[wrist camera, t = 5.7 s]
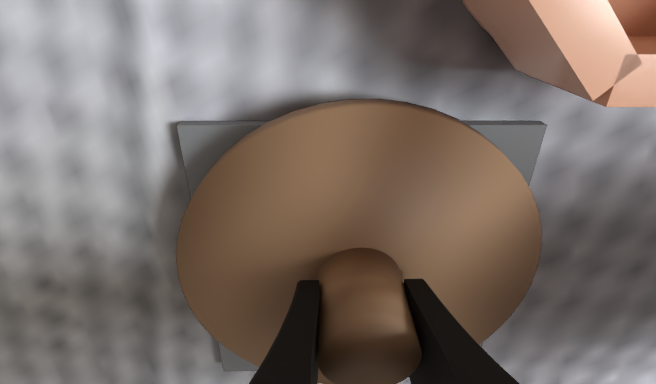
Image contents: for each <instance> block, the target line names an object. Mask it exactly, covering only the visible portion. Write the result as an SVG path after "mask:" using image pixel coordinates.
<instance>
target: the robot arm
mask: <svg viewBox="0 0 656 384" xmlns="http://www.w3.org/2000/svg"><path fill="white" fill-rule="evenodd" d="M403 285H404V288H405V292H406V296H407V299H408V303H409V307H410V310H411V314H412V318H413V321H414V325H415V329H416V332H417V336H418V340H419V343H420V347H421V351H422V357H421V361H420V364H419V366H418V367H417V369H416V370H415V371H414V372H413V373H412V374H411V375H410V376H409V377H410V381H411V384H519V383H518V382H517V381H516V380H515V379H514V378H513V377H512V376H510V375H509V374H508V373H507V372H506V371H505V370H504V369H503V368H502V367H501V366H500V365H499V364H498V363H496V362H495V361H494V360H493V359H492V358H491V357H490V356H489V355H488V354H487V353H486V352H485V351H484V349H483V348H482V347H481V346H480V345H479V344H478V343H477V342H476V341H475V340H474V339H473V338H472V337H471V336H470V335H469V334H468V332H467V331H466V330H465V329H464V328H463V327H462V326H461V324H460V323H459V322H458V321H457V320H456V319H455V318H454V316H453V315H452V314H451V313H450V312H449V310H448V309H447V308H446V307H445V306H444V304H443V303H442V302H441V301H440V299H439V298H438V297H437V296H436V294H435V293H434V292H433V290H432V289H431V288H430V287H429V285H428V284H427V283H426V281H425V280H424V279H404V283H403ZM319 311H320V296H319V280H300V281H299V282H298V283H297V286H296V290H295V294H294V297H293V300H292V303H291V305H290V308H289V310H288V313H287V315H286V317H285V319H284V322H283V324H282V326H281V328H280V331H279V333H278V335H277V337H276V338H275V340H274V342H273V344H272V346H271V348H270V350H269V352H268V353H267V355H266V357H265V359H264V360H263V362H262V364H261V366H260V367H259V369H258V370H257V372H256V374H255V375H254V377H253V378H252V380H251V381H250V383H249V384H317V383H318V371H319V366H318V324H319Z"/></svg>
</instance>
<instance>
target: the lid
mask: <svg viewBox="0 0 656 384" xmlns="http://www.w3.org/2000/svg"><path fill="white" fill-rule="evenodd" d="M541 234H542V229H541V223H540V217H539V211H538V208H537V205H536V202H535V200H534V197H533V194H532V192H531V190H530V188H529V186H528V185H527V183H526V181H525V179H524V178H523V176H522V174H521V173H520V172H519V171H518V170H517V168H516V167H515V166H514V165H513V164H512V162H511V161H510V160H509V159H508V158H507V157H506V156H505V155H504V154H503V153H502V152H501V151H500V150H499V149H498V148H497V147H496V146H495V145H494V144H493V143H492V142H490V141H489V140H488V139H487V138H486V137H484V136H483V135H482V134H481V133H480V132H479V131H477V130H475V129H474V128H472V127H470V126H468V125H467V124H465V123H463V122H462V121H460V120H458V119H457V118H454V117H452V116H449V115H447V114H444V113H442V112H440V111H437V110H435V109H432V108H428V107H424V106H420V105H416V104H412V103H408V102H401V101H393V100H384V99H348V100H341V101H335V102H328V103H321V104H317V105H314V106H310V107H307V108H303V109H299V110H296V111H293V112H290V113H288V114H286V115H283V116H281V117H279V118H276V119H274V120H272V121H269V122H267V123H266V124H264V125H262V126H261V127H259V128H257V129H255V130H254V131H252V132H250V133H249V134H247V135H245V136H244V137H243V138H242V139H240V140H239V141H238V142H237V143H235V144H234V145H233V146H232V147H231V148H229V149H228V150H227V151H226V152H225V153H224V154H223V155H222V156H221V157H220V158H219V159H218V160H217V161H216V162H215V164H214V165H213V166H212V167H211V168H210V169H209V171H208V172H207V174H206V175H205V177H204V178H203V180H202V181H201V183H200V184H199V186H198V187H197V189H196V191H195V193H194V195H193V196H192V198H191V200H190V202H189V205H188V207H187V209H186V211H185V214H184V216H183V218H182V222H181V226H180V230H179V234H178V238H177V250H176V262H177V271H178V277H179V281H180V284H181V288H182V291H183V294H184V296H185V298H186V300H187V302H188V304H189V306H190V308H191V310H192V311H193V313H194V314H195V316H196V317H197V319H198V320H199V322H200V323H201V324H202V325H203V326H204V328H205V329H206V330H207V331H208V332H209V333H210V334H211V335H212V336H213V337H214V338H215V339H216V340H217V341H219V342H220V343H221V344H222V345H223V346H224V347H226V348H227V349H229V350H230V351H232V352H233V353H235V354H236V355H237V356H239V357H241V358H242V359H244V360H246V361H248V362H250V363H252V364H254V365H256V366H258V367H260V366H261V364H262V362H263V360H264V359H265V357H266V355H267V353H268V352H269V350H270V348H271V346H272V344H273V342H274V340H275V338H276V337H277V335H278V333H279V331H280V328H281V326H282V324H283V322H284V319H285V317H286V315H287V313H288V310H289V308H290V305H291V303H292V300H293V297H294V294H295V290H296V286H297V283H298V282H299V281H300V280H319V296H320V311H319V324H318V366H319V371H318V383H323V384H397V383H399V382H401V381H403V380H404V379H406V378H407V377H409V376H410V375H411V374H412V373H413V372H414V371H415V370H416V369H417V367H418V366H419V364H420V361H421V357H422V351H421V347H420V343H419V340H418V336H417V332H416V329H415V325H414V321H413V318H412V314H411V310H410V307H409V303H408V299H407V296H406V292H405V288H404V285H403V283H404V279H424V280H425V281H426V283H427V284H428V285H429V287H430V288H431V289H432V290H433V292H434V293H435V294H436V296H437V297H438V298H439V299H440V301H441V302H442V303H443V304H444V306H445V307H446V308H447V309H448V310H449V312H450V313H451V314H452V315H453V316H454V318H455V319H456V320H457V321H458V322H459V323H460V324H461V326H462V327H463V328H464V329H465V330H466V331H467V332H468V334H469V335H470V336H471V337H472V338H473V339H474V340H475V341H476V342H477V343H478V344H480V343H482V342H483V341H484V340H486V339H487V338H488V337H489V336H490V335H491V334H493V333H494V332H495V331H496V330H497V329H498V328H500V326H501V325H502V324H503V323H504V322H505V321H506V320H507V319H508V318H509V317H510V316H511V315H512V313H513V312H514V311H515V309H516V308H517V307H518V305H519V304H520V303H521V301H522V300H523V298H524V296H525V294H526V292H527V291H528V289H529V287H530V285H531V283H532V280H533V278H534V275H535V272H536V270H537V267H538V262H539V257H540V252H541Z"/></svg>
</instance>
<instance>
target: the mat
mask: <svg viewBox="0 0 656 384" xmlns="http://www.w3.org/2000/svg"><path fill="white" fill-rule="evenodd" d="M267 122H269V121H181V122H180V123H179V124H178V125H177V130H178V135H179V140H180V146H181V151H182V156H183V161H184V167H185V172H186V177H187V182H188V187H189V193H190V198H192V196H193V195H194V193H195V191H196V189H197V187H198V186H199V184H200V183H201V181H202V180H203V178H204V177H205V175H206V174H207V172H208V171H209V169H210V168H211V167H212V166H213V165H214V164H215V162H216V161H217V160H218V159H219V158H220V157H221V156H222V155H223V154H224V153H225V152H226V151H227V150H228V149H229V148H231V147H232V146H233V145H234V144H235V143H237V142H238V141H239V140H240V139H242V138H243V137H244V136H245V135H247V134H249V133H250V132H252V131H254V130H255V129H257V128H259V127H261V126H262V125H264V124H266V123H267ZM462 122H463V123H465V124H467V125H468V126H470V127H472V128H474V129H475V130H477V131H479V132H480V133H481V134H482V135H483V136H484V137H486V138H487V139H488V140H489V141H490V142H492V143H493V144H494V145H495V146H496V147H497V148H498V149H499V150H500V151H501V152H502V153H503V154H504V155H505V156H506V157H507V158H508V159H509V160H510V161H511V162H512V164H513V165H514V166H515V167H516V168H517V170H518V171H519V172H520V173H521V174H522V176H523V178H524V179H525V181H526V183H527V185H528V186H529V184H530V181H531V178H532V174H533V171H534V167H535V164H536V161H537V157H538V154H539V150H540V147H541V144H542V140H543V137H544V134H545V130H546V127H547V125H546V124H544V123H543V122H541V121H462ZM482 343H483V342H482ZM482 343H480V344H479V345H480V346H482ZM218 344H219V350H220V355H221V360H222V365H223V371H257V370H258V369H259V367H258V366H256V365H254V364H252V363H250V362H248V361H246V360H244V359H242V358H241V357H239V356H237V355H236V354H235V353H233V352H232V351H230V350H229V349H227V348H226V347H224V346H223V345H222V344H221V343H220V342H219V341H218Z"/></svg>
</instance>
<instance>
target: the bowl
mask: <svg viewBox="0 0 656 384" xmlns="http://www.w3.org/2000/svg"><path fill="white" fill-rule="evenodd" d="M461 1H462V3H463V4H464V6H465V8H466V9H467V10H468V11H469V13H470V14H471V15H472V16H473V17H474V19H475V20H476V21H477V22H478V23H479V24H480V26H481V27H482V28H483V29H484V30H485V31H487V32H488V33H489V34H490V35H491V36H492V37H493V39H494V40H495V42H496V43H497V44H498V46H499V47H500V49H501V50H502V51H503V53H504V54H505V56H506V57H507V58H508V60H509V61H510V63H511V64H512V65H513V67H514V68H515V70H518V71H520V72H523V73H525V74H526V75H529V76H531V77H533V78H536V79H538V80H541V81H543V82H546V83H548V84H551V85H553V86H556V87H558V88H561V89H563V90H566V91H568V92H571V93H573V94H575V95H578V96H580V97H583V98H585V99H588V100H590V101H593V102H595V103H598V104H600V105H603V106H605V107H656V0H461Z"/></svg>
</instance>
